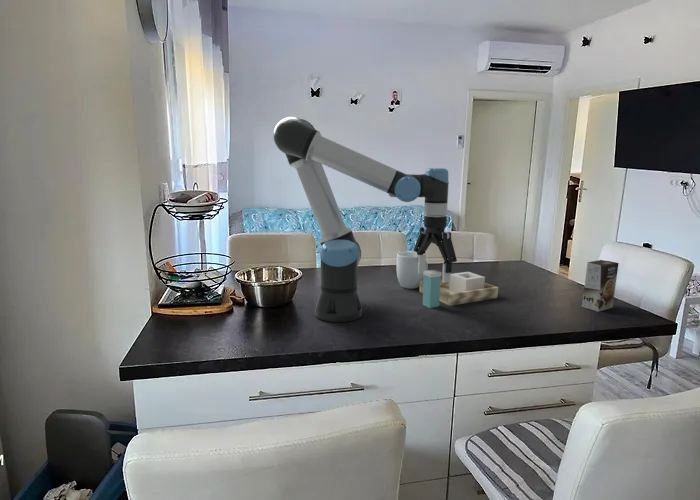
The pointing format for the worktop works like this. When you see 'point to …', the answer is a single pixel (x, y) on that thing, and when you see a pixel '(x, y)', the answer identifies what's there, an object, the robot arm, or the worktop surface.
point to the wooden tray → (464, 294)
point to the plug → (431, 288)
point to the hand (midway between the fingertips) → (433, 277)
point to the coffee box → (600, 285)
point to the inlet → (466, 282)
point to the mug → (409, 270)
